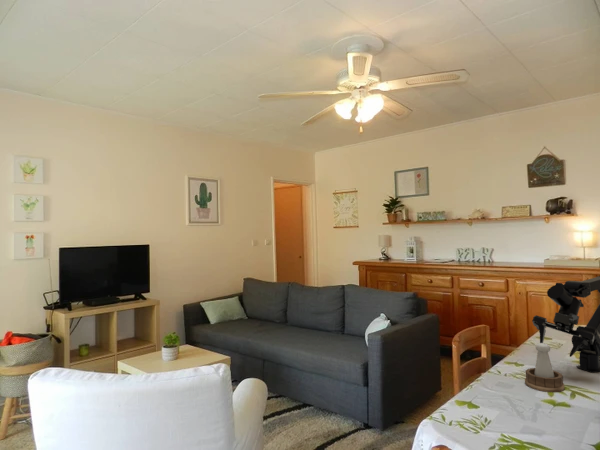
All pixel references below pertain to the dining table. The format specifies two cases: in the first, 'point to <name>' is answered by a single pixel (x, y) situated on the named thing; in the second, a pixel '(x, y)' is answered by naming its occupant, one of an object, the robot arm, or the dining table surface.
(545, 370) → the salt shaker
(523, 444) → the dining table surface
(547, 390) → the collar stand
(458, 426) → the dining table surface
